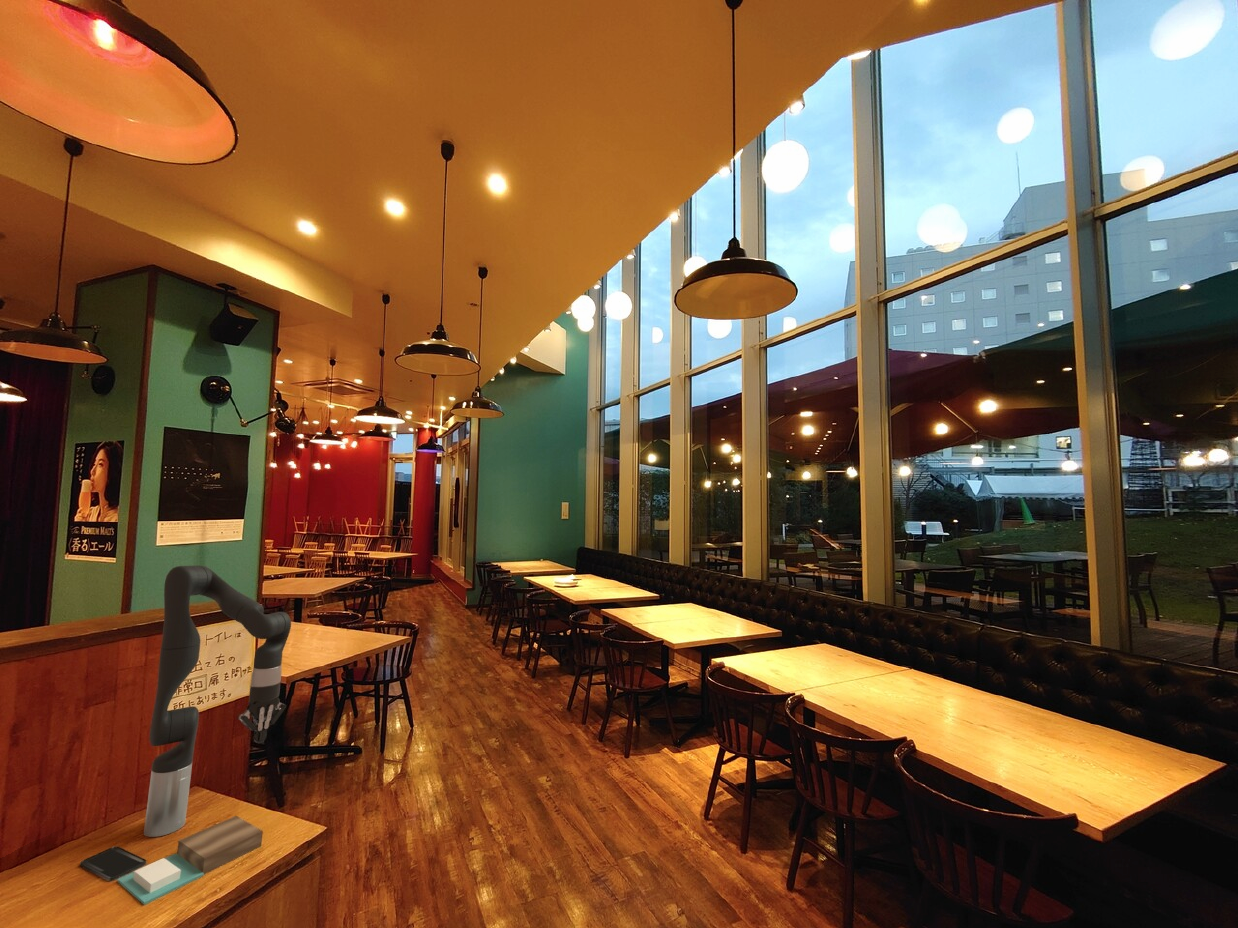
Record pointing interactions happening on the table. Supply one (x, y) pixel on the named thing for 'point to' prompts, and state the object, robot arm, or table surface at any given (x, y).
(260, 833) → the block
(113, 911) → the table surface
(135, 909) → the table surface
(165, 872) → the white rectangular block
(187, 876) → the mat
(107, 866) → the phone
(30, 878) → the table surface
